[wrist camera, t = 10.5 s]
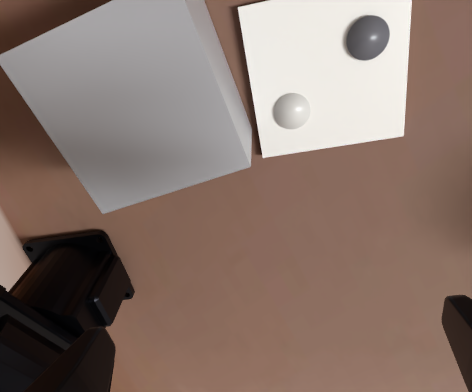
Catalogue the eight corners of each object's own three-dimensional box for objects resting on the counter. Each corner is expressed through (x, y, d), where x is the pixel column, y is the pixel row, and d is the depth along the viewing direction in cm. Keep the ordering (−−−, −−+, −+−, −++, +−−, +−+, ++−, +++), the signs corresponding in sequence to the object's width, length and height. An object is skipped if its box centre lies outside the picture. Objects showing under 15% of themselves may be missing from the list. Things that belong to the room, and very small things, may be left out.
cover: (133, 170, 22) (102, 214, 17) (57, 41, 18) (-6, 57, 14) (251, 128, 20) (250, 166, 16) (195, -24, 16) (172, -29, 12)
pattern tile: (262, 155, 21) (263, 159, 20) (238, 7, 17) (237, 7, 16) (401, 133, 20) (404, 137, 19) (410, -31, 16) (415, -32, 15)
